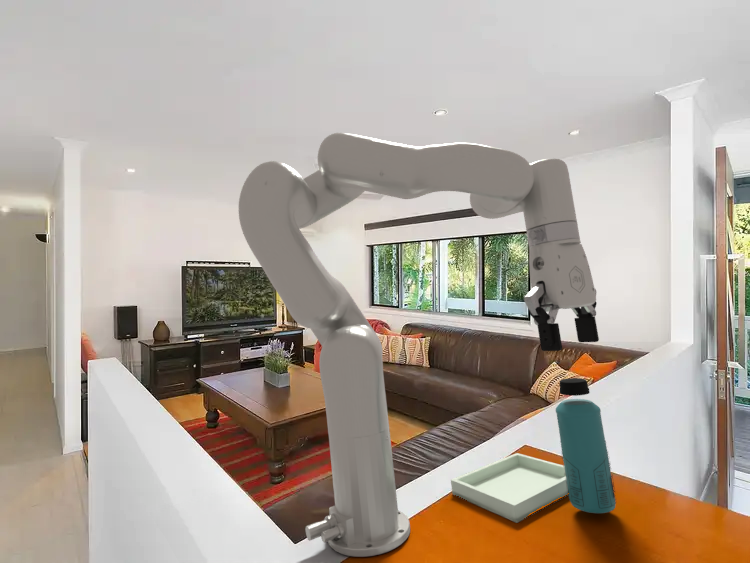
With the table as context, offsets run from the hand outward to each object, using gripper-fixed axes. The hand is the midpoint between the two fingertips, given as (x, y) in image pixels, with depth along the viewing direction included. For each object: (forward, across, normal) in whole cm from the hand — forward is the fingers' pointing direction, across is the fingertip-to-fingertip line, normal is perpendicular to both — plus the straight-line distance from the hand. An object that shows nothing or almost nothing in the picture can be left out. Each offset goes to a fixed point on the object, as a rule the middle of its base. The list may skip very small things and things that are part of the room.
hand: (570, 346), depth 63 cm
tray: (+25, -2, +13) cm, 28 cm away
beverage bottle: (+25, -1, 0) cm, 25 cm away
